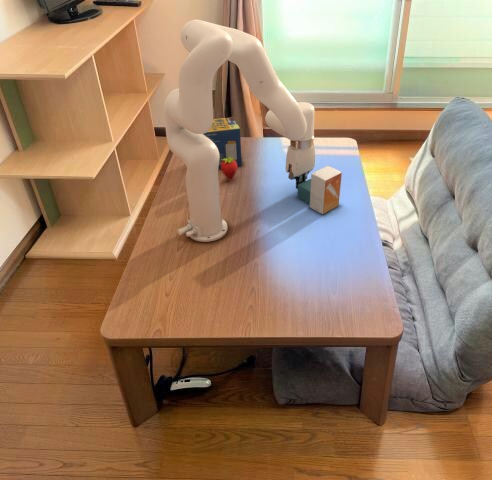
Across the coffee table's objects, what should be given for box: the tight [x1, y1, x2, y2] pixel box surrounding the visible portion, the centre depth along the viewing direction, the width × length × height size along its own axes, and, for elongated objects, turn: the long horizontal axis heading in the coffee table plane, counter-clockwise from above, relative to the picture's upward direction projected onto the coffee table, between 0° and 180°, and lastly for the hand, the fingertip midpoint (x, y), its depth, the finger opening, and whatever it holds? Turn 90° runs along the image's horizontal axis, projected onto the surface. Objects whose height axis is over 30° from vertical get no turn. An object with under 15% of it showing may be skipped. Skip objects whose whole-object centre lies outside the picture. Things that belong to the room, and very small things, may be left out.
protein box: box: [203, 116, 243, 170], centre depth 183 cm, size 10×15×16 cm
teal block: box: [297, 178, 311, 205], centre depth 167 cm, size 6×6×5 cm
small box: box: [309, 165, 343, 215], centre depth 160 cm, size 8×6×13 cm
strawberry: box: [221, 156, 238, 181], centre depth 174 cm, size 6×8×10 cm
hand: (300, 189), depth 170 cm, fingers closed
